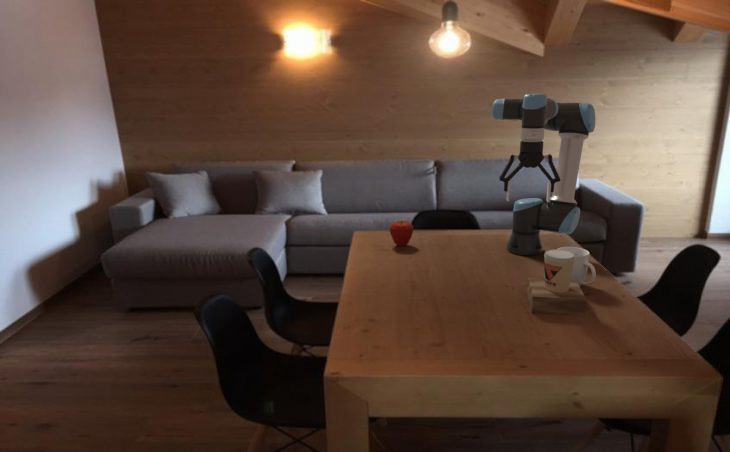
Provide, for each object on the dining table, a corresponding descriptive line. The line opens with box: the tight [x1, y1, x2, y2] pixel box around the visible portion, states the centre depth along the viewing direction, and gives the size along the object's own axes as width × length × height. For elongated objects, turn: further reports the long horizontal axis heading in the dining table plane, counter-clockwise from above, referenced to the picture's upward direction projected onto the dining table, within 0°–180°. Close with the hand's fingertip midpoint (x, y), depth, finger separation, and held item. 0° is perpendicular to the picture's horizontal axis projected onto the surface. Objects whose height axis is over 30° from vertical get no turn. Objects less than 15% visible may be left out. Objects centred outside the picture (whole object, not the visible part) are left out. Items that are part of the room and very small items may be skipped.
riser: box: [526, 277, 587, 318], centre depth 166 cm, size 16×16×6 cm
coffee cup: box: [543, 249, 575, 293], centre depth 164 cm, size 9×9×12 cm
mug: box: [556, 246, 597, 287], centre depth 180 cm, size 15×11×13 cm
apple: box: [389, 220, 414, 247], centre depth 230 cm, size 11×11×12 cm
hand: (527, 201), depth 176 cm, fingers open, 13 cm apart
